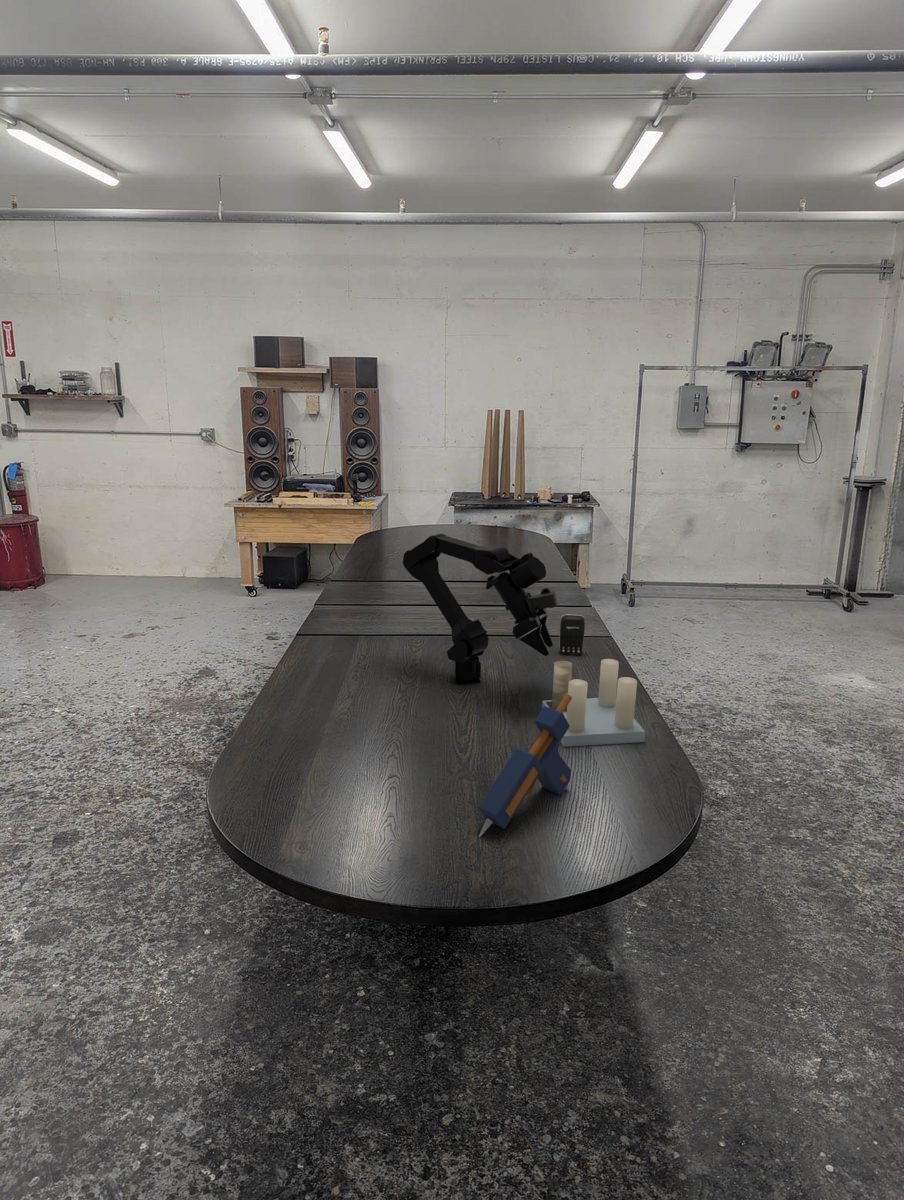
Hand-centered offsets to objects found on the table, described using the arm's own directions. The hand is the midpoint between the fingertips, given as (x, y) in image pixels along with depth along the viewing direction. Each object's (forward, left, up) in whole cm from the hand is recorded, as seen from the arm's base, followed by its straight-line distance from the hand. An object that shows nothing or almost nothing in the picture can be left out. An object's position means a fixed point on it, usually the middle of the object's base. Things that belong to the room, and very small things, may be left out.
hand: (549, 650), depth 176 cm
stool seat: (+5, -15, -13) cm, 20 cm away
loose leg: (0, -9, -13) cm, 16 cm away
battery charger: (+18, +28, -13) cm, 36 cm away
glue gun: (-20, -44, -13) cm, 50 cm away
